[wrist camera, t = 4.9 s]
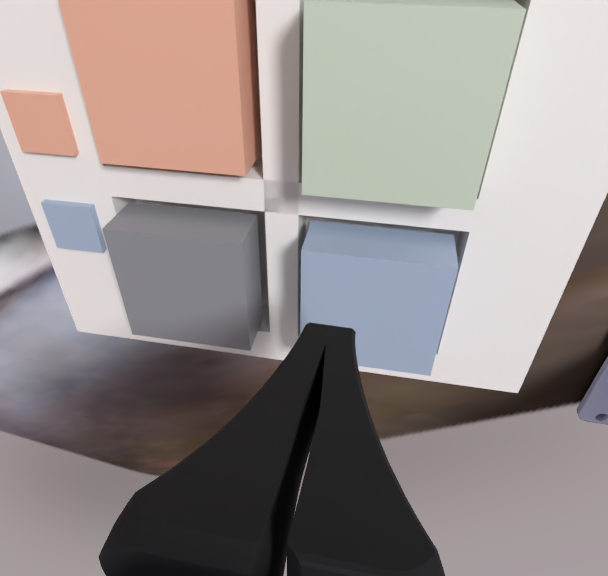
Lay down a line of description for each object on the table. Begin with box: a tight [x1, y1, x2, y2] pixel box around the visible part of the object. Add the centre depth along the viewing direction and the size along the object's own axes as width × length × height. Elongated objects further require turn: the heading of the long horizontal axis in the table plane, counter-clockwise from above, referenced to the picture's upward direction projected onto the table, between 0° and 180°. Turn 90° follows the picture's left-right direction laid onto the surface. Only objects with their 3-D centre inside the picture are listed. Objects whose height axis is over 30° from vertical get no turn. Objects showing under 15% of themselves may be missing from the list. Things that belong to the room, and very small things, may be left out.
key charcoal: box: [102, 202, 263, 351], centre depth 18 cm, size 5×5×2 cm
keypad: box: [0, 0, 608, 393], centre depth 17 cm, size 20×16×3 cm
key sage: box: [302, 0, 526, 211], centre depth 13 cm, size 5×5×2 cm
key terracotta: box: [58, 0, 261, 176], centre depth 15 cm, size 5×5×2 cm
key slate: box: [300, 221, 459, 376], centre depth 17 cm, size 5×5×2 cm
